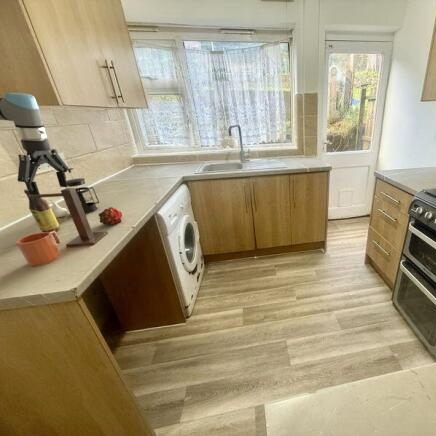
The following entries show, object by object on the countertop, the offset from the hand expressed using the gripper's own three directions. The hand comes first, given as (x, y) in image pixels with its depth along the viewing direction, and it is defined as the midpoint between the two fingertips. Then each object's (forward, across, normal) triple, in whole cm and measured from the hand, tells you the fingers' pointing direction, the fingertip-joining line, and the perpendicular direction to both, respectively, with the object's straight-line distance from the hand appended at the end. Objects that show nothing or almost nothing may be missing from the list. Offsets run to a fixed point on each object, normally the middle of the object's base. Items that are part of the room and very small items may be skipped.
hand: (51, 192), depth 101 cm
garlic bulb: (+21, +19, +16) cm, 33 cm away
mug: (+16, -22, -12) cm, 30 cm away
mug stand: (+16, -11, -14) cm, 24 cm away
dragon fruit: (+16, +6, -18) cm, 25 cm away
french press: (+20, +25, +6) cm, 32 cm away
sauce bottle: (+20, +1, +6) cm, 20 cm away
